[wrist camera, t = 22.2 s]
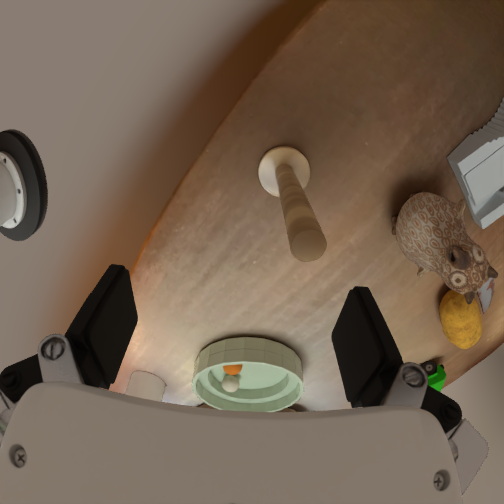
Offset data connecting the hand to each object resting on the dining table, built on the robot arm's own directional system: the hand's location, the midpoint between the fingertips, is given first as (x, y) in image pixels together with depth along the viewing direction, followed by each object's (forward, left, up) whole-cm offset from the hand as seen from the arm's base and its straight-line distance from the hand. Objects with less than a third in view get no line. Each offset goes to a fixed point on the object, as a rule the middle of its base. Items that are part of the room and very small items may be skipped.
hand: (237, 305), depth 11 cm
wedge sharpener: (+32, +12, -18) cm, 39 cm away
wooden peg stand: (+3, +1, -18) cm, 18 cm away
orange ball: (0, -27, -16) cm, 31 cm away
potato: (+35, -14, -18) cm, 42 cm away
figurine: (+19, 0, -18) cm, 26 cm away
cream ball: (0, -33, -16) cm, 36 cm away
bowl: (+3, -30, -18) cm, 35 cm away
